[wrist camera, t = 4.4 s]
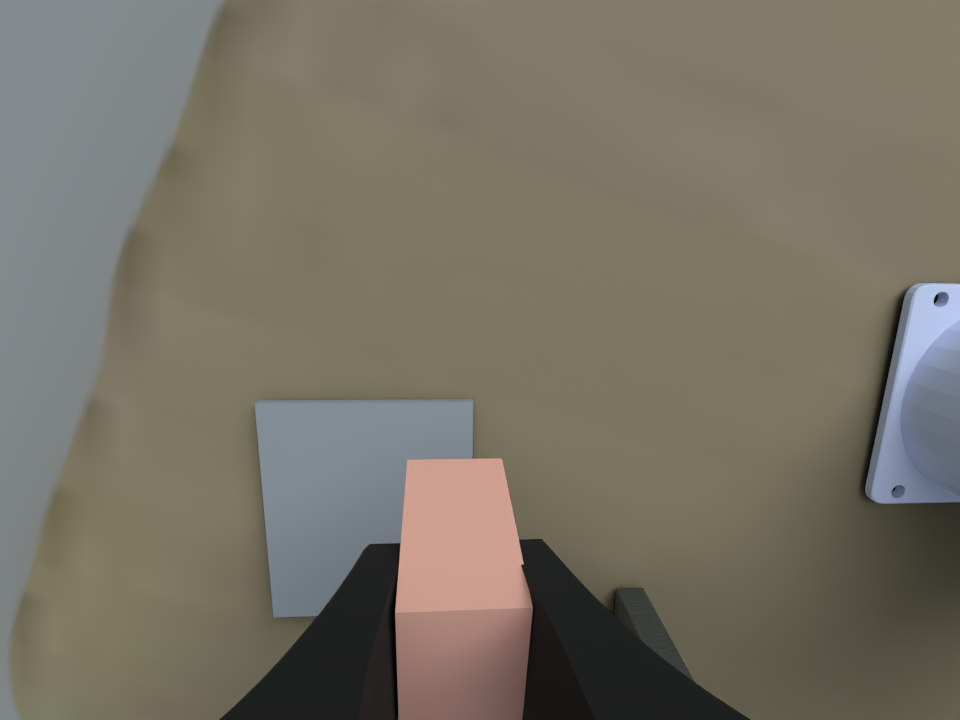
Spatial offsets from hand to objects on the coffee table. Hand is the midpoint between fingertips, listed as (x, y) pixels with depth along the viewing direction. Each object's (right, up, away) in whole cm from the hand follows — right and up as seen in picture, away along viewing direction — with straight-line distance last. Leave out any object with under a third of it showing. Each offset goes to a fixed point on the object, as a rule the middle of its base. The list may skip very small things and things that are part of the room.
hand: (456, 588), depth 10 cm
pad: (-3, -1, +9) cm, 10 cm away
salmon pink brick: (0, -1, +3) cm, 3 cm away
